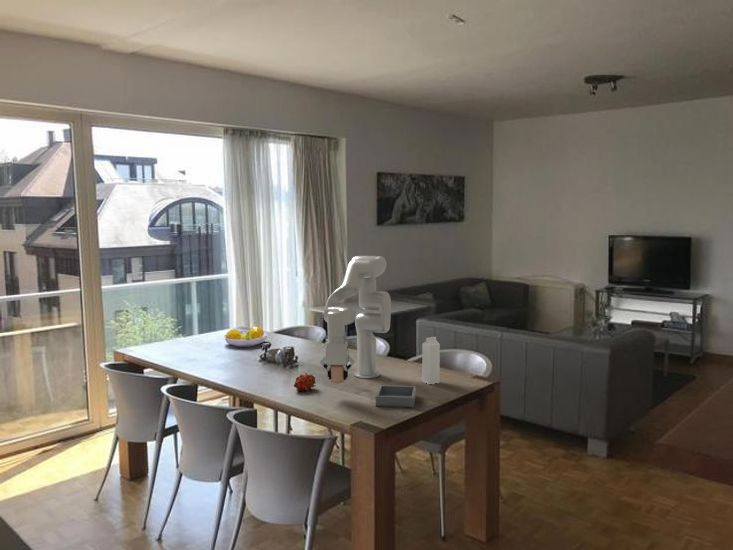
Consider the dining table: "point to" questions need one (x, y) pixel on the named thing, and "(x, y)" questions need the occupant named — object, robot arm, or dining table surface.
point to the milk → (431, 361)
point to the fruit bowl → (245, 337)
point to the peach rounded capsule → (337, 374)
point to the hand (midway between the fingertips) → (337, 378)
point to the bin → (396, 396)
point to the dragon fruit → (305, 382)
